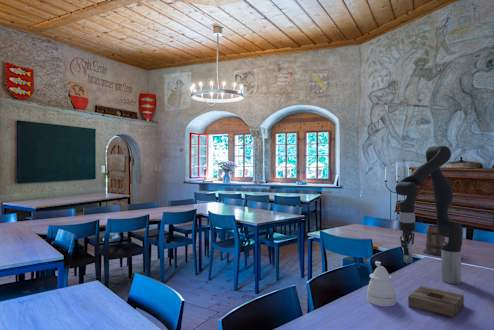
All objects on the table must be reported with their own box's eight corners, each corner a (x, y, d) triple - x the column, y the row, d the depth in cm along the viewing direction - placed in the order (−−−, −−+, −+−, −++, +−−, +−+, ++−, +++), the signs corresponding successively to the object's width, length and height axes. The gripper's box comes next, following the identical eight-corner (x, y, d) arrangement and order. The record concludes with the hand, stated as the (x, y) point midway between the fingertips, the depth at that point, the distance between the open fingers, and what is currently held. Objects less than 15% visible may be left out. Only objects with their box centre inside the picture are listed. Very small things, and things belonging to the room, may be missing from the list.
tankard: (442, 257, 237) (441, 228, 237) (418, 253, 251) (417, 225, 251) (457, 252, 251) (457, 225, 251) (434, 248, 265) (433, 222, 265)
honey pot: (361, 298, 167) (360, 261, 167) (381, 294, 172) (380, 258, 173) (381, 308, 156) (380, 268, 156) (402, 303, 161) (401, 264, 161)
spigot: (405, 260, 178) (404, 238, 178) (413, 261, 176) (413, 240, 176) (402, 261, 176) (402, 240, 176) (410, 263, 173) (410, 241, 173)
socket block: (421, 295, 169) (421, 285, 169) (463, 305, 157) (463, 294, 157) (408, 306, 156) (408, 295, 156) (453, 318, 144) (453, 306, 144)
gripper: (404, 218, 183) (405, 250, 183) (394, 222, 173) (394, 255, 173) (419, 219, 178) (420, 252, 178) (409, 223, 168) (410, 258, 168)
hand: (407, 254), depth 176 cm, fingers closed on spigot, 4 cm apart
